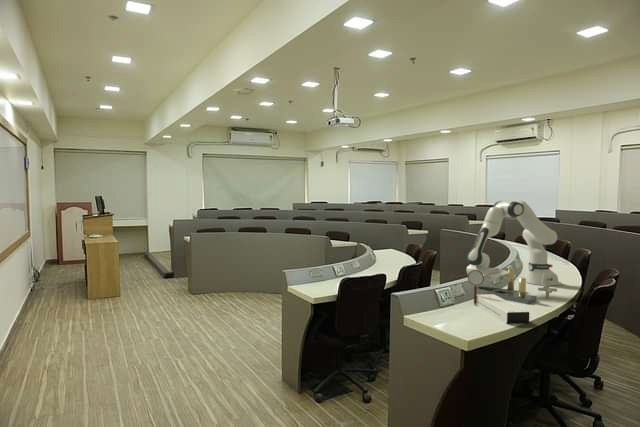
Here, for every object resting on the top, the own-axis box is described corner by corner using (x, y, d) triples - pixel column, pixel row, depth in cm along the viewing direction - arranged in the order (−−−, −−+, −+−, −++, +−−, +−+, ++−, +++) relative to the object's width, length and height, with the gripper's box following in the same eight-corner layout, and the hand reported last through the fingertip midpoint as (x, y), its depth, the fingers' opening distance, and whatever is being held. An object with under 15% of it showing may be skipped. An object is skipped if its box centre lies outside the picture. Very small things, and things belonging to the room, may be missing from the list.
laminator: (475, 305, 232) (475, 294, 232) (495, 304, 233) (496, 294, 233) (507, 325, 198) (507, 312, 198) (531, 324, 199) (531, 312, 199)
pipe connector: (559, 300, 242) (560, 283, 242) (541, 299, 244) (541, 282, 244) (553, 296, 252) (553, 280, 251) (535, 295, 254) (536, 279, 253)
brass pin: (511, 289, 261) (512, 269, 260) (515, 290, 257) (515, 270, 257) (506, 289, 261) (506, 269, 260) (509, 290, 257) (510, 270, 256)
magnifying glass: (466, 304, 233) (467, 269, 231) (467, 303, 234) (468, 269, 233) (482, 306, 228) (483, 271, 227) (483, 306, 229) (484, 270, 228)
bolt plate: (487, 295, 252) (488, 275, 251) (496, 292, 260) (497, 272, 259) (528, 304, 234) (529, 281, 233) (536, 300, 242) (537, 278, 241)
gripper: (483, 272, 261) (505, 275, 251) (498, 267, 275) (519, 270, 264) (483, 281, 261) (504, 285, 251) (497, 277, 275) (519, 280, 265)
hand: (512, 278), depth 258 cm, fingers closed on brass pin, 4 cm apart
